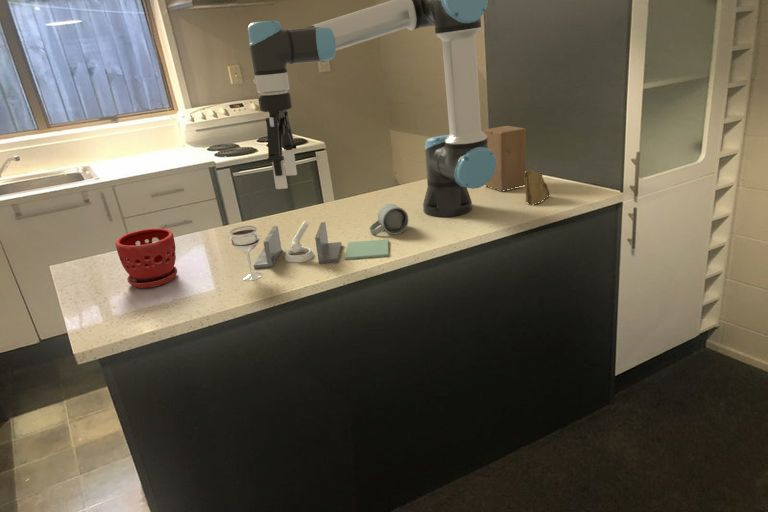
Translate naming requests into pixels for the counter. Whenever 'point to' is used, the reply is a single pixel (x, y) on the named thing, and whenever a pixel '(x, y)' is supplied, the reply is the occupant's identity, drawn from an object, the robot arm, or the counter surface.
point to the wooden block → (507, 156)
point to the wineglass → (246, 245)
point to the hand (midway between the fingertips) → (287, 181)
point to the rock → (535, 187)
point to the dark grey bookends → (273, 248)
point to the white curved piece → (299, 247)
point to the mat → (367, 249)
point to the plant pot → (148, 257)
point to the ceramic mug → (390, 220)
